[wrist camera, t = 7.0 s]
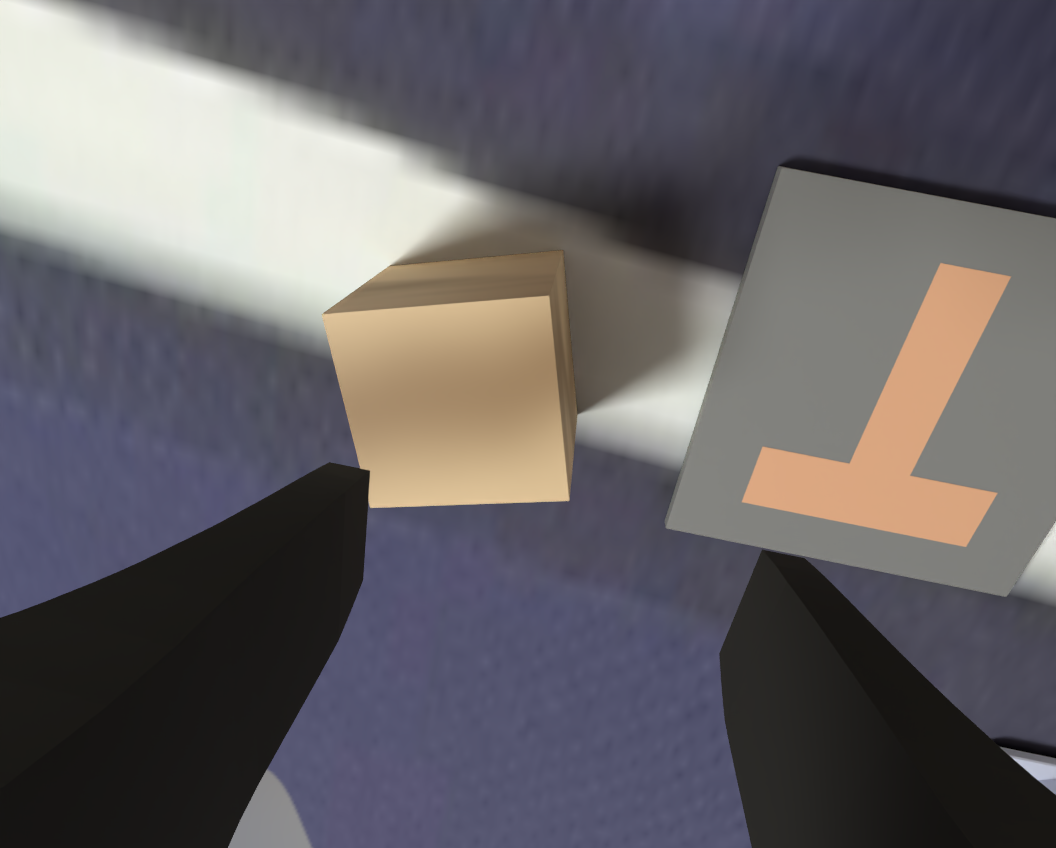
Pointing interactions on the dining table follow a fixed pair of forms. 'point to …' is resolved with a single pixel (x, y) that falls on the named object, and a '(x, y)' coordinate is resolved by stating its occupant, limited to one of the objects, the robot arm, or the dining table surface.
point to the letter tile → (884, 387)
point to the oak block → (460, 380)
